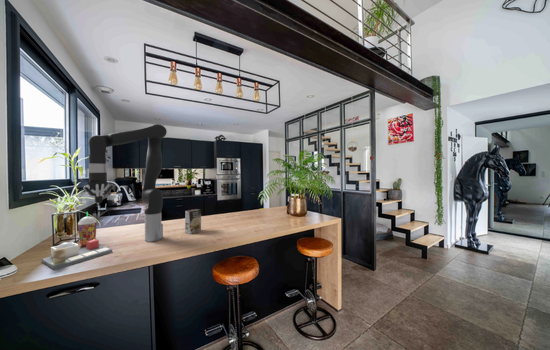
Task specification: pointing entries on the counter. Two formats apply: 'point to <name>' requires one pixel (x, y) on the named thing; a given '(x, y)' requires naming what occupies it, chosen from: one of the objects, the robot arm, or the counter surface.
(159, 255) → the counter surface
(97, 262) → the counter surface
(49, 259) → the game board
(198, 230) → the coffee box
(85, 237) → the smoothie
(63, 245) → the dome
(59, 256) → the tan block
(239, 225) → the counter surface
